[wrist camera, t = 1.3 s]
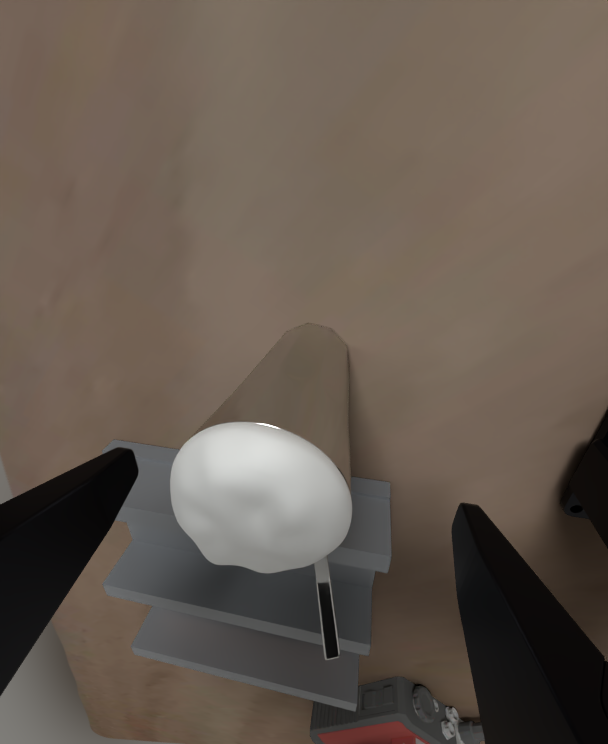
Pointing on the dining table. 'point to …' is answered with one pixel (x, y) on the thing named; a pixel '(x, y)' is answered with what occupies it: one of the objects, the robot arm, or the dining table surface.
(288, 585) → the grey slotted tray
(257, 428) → the milkshake
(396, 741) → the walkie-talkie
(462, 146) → the dining table surface
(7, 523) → the robot arm
